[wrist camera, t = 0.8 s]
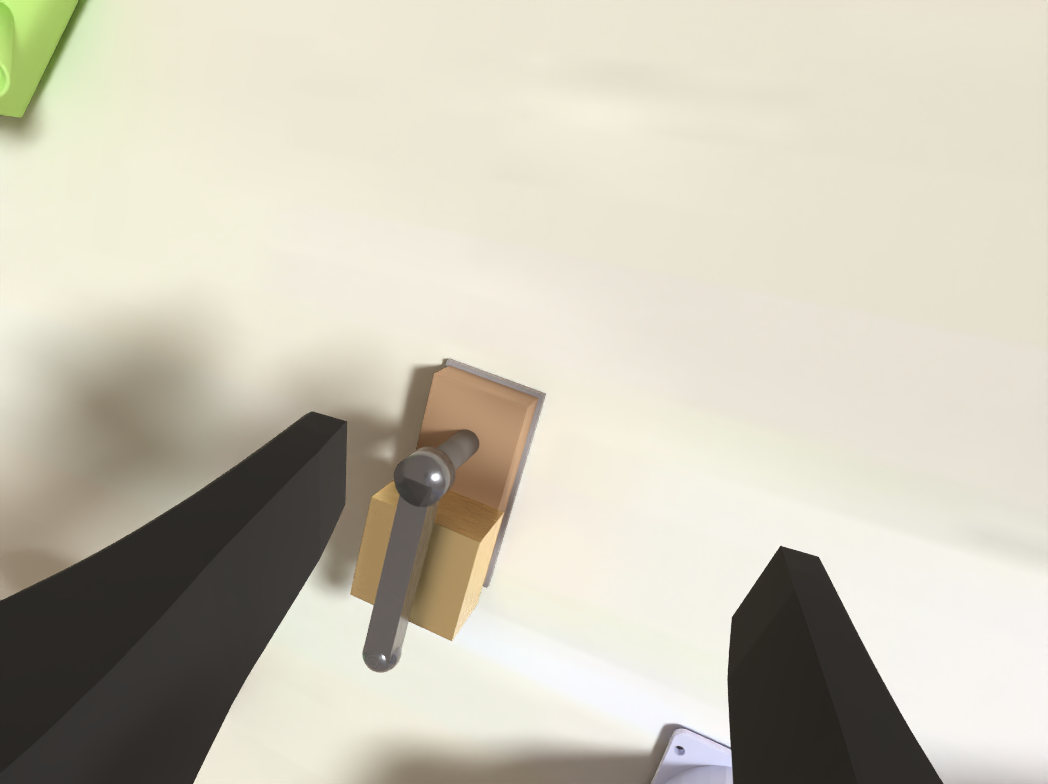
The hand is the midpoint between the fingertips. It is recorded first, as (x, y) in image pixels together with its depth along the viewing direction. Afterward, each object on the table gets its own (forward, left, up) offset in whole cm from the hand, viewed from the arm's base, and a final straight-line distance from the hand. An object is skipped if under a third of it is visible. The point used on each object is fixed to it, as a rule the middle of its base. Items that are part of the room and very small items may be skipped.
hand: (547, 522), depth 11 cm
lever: (-11, +7, -13) cm, 18 cm away
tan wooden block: (-12, +7, -16) cm, 21 cm away
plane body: (-9, +7, -18) cm, 21 cm away
